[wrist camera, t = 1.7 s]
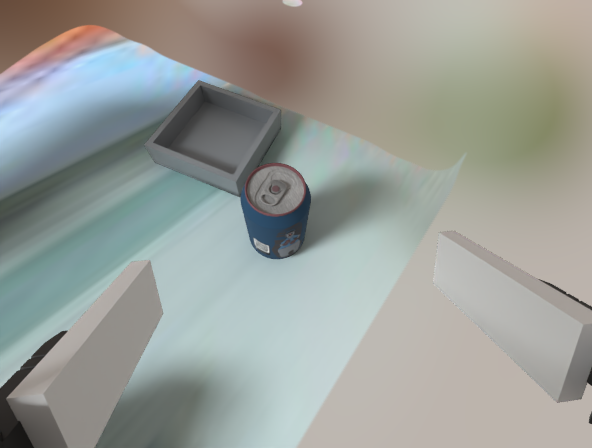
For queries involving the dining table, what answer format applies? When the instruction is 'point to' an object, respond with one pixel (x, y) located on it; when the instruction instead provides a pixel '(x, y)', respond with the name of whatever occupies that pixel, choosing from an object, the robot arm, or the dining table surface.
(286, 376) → the dining table surface
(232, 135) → the bin
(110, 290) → the robot arm
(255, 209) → the soda can
